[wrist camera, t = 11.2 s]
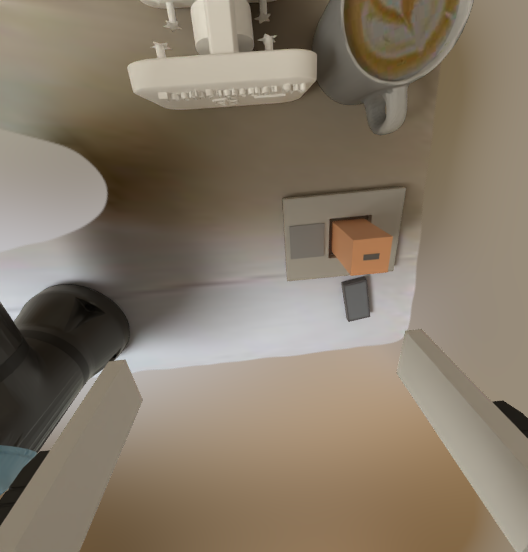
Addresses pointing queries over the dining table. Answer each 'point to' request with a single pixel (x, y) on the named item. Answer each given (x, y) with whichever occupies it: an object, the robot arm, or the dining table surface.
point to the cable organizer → (222, 61)
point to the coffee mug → (383, 51)
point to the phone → (356, 299)
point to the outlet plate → (315, 227)
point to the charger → (361, 246)
